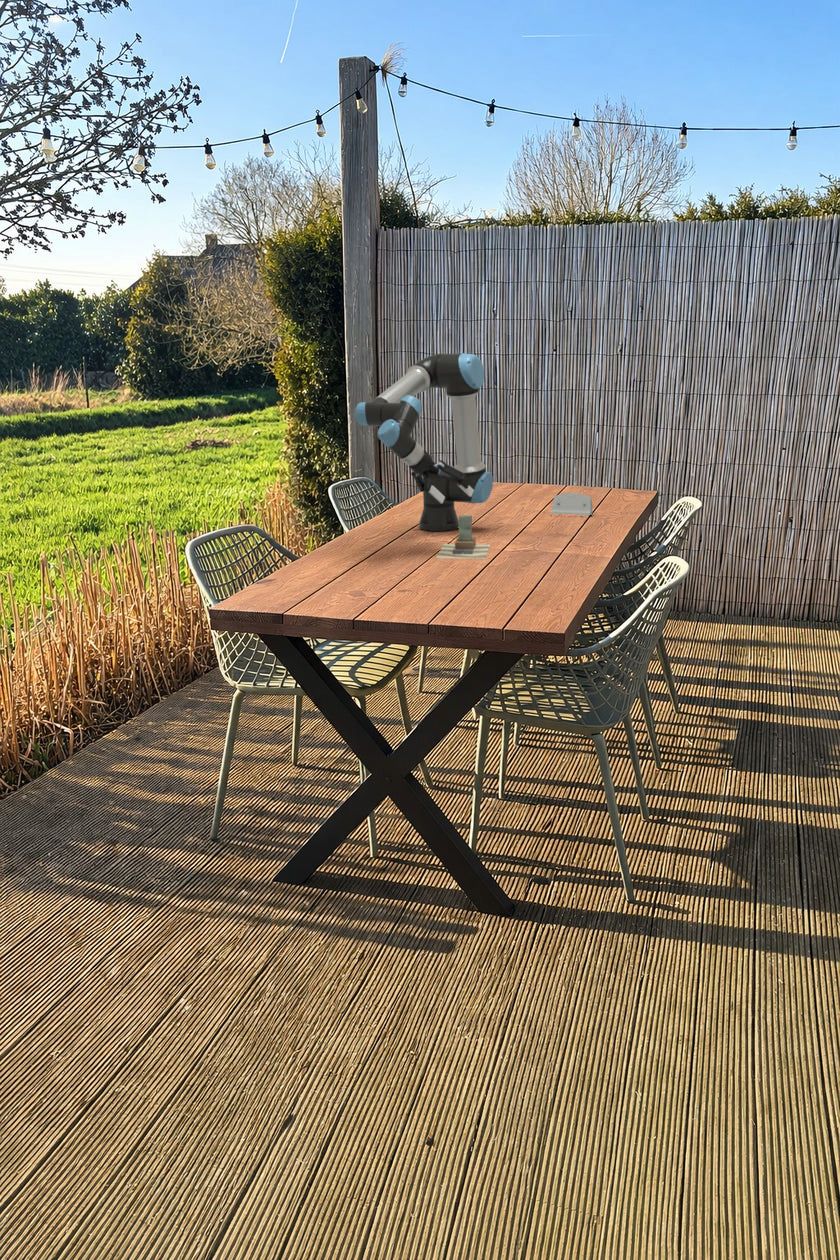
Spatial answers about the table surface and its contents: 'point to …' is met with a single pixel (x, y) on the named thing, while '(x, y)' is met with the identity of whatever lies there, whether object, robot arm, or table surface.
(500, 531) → the table surface
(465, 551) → the mark tile
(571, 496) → the hinge
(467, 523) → the block
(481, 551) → the board
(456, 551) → the mark tile
